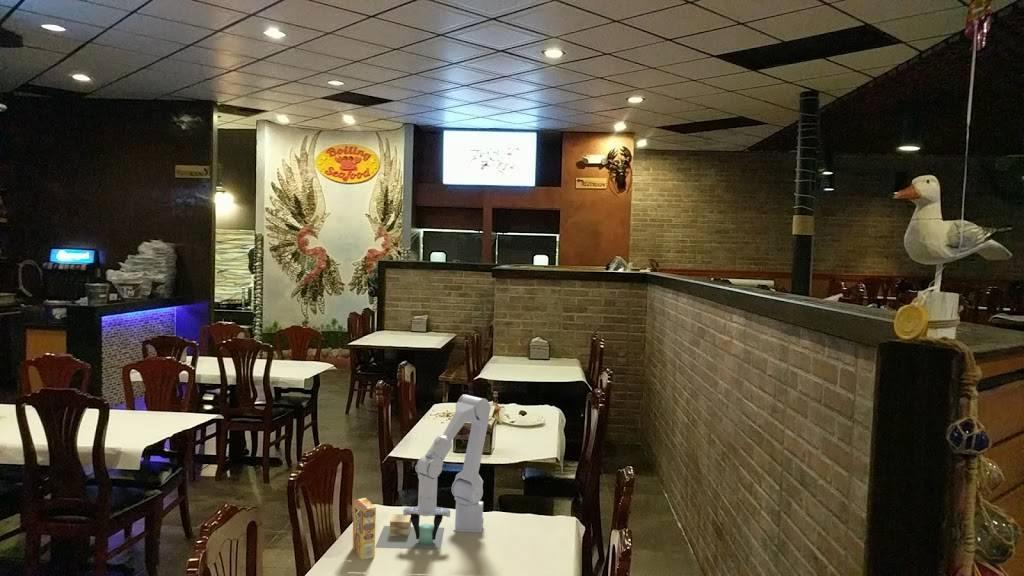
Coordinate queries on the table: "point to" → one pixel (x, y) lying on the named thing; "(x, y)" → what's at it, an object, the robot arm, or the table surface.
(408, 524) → the oak slab top
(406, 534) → the birch slab low
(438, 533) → the slate mat
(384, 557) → the table surface
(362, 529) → the candy box
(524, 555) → the table surface
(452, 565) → the table surface
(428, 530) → the green rounded knob
